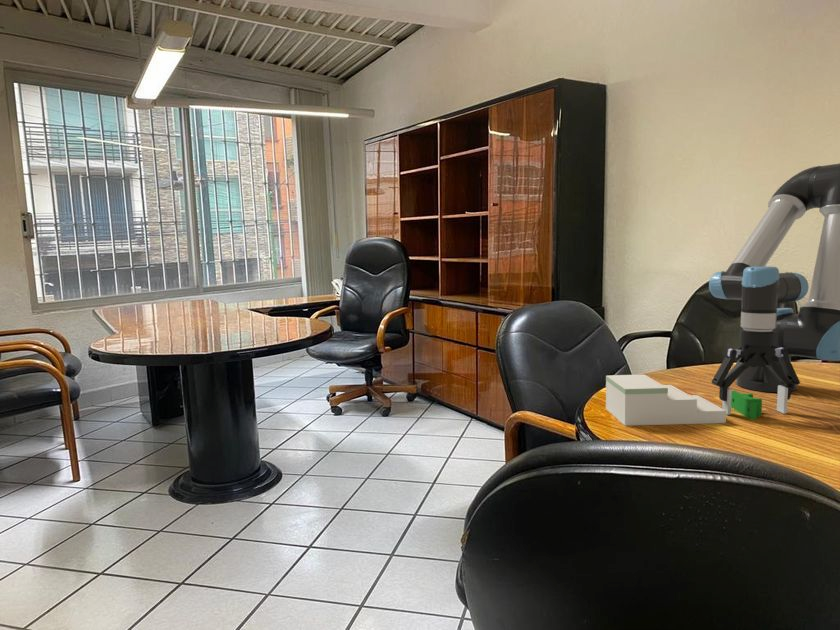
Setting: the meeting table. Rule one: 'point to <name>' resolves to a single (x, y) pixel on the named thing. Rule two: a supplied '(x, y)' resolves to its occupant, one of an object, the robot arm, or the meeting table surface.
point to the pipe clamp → (746, 404)
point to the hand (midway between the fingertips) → (753, 412)
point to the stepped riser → (656, 403)
